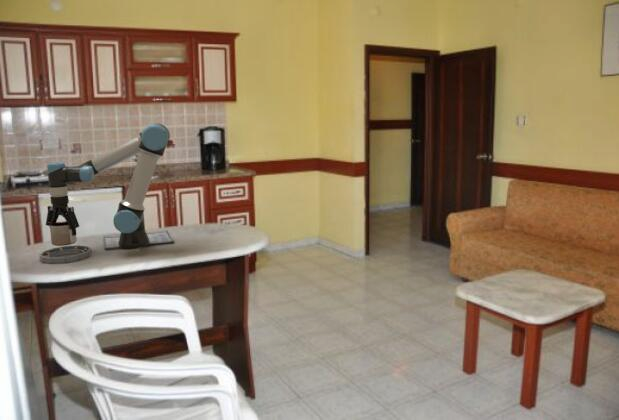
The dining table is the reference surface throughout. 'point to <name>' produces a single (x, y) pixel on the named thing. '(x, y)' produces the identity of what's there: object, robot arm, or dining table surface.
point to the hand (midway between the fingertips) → (64, 241)
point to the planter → (60, 233)
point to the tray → (65, 254)
